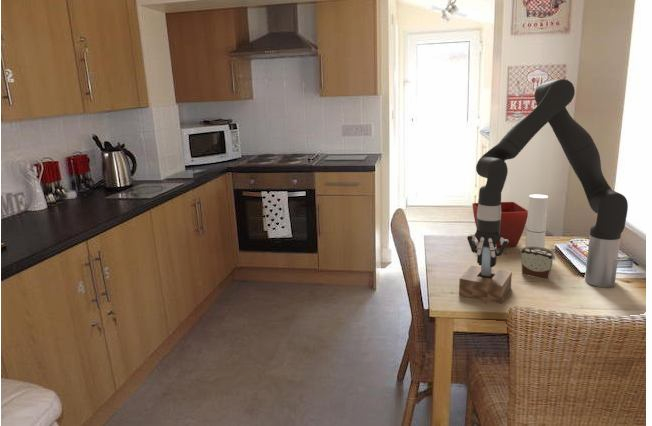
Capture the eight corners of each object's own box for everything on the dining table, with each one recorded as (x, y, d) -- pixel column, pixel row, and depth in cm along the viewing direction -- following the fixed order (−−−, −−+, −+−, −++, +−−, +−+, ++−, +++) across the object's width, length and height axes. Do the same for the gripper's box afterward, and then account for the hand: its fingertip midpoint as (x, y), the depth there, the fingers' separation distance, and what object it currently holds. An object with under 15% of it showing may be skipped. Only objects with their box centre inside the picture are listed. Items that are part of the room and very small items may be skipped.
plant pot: (470, 237, 223) (471, 202, 219) (511, 236, 223) (513, 201, 219) (482, 250, 205) (483, 212, 201) (526, 249, 204) (529, 211, 200)
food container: (558, 276, 175) (560, 250, 173) (552, 281, 171) (554, 254, 168) (524, 268, 183) (526, 244, 181) (518, 273, 179) (519, 248, 177)
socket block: (510, 287, 166) (511, 271, 165) (501, 303, 155) (502, 286, 154) (470, 280, 174) (471, 265, 172) (458, 294, 163) (459, 278, 161)
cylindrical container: (544, 253, 199) (549, 195, 192) (542, 258, 193) (546, 198, 186) (526, 250, 202) (530, 193, 196) (523, 256, 197) (527, 197, 190)
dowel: (492, 273, 163) (493, 245, 161) (489, 276, 161) (491, 248, 158) (482, 271, 165) (483, 244, 163) (479, 275, 162) (480, 247, 160)
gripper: (513, 216, 157) (510, 265, 161) (471, 212, 165) (469, 259, 169) (508, 222, 151) (505, 272, 155) (464, 217, 159) (462, 265, 163)
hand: (486, 265), depth 162 cm, fingers closed on dowel, 3 cm apart
